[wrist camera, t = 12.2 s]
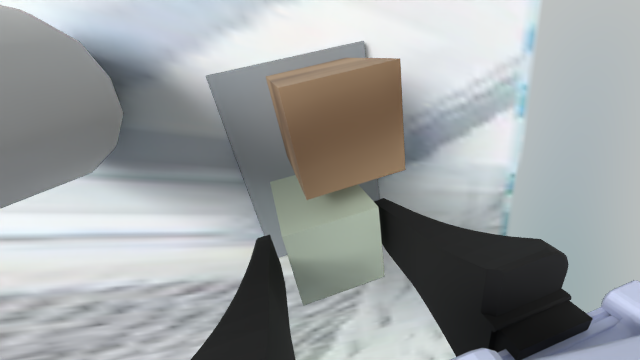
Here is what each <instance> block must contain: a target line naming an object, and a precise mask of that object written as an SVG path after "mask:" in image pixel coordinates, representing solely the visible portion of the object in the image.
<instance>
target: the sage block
mask: <svg viewBox="0 0 640 360" xmlns="http://www.w3.org/2000/svg"><path fill="white" fill-rule="evenodd" d="M270 184H271V189H272V193H273V198H274V202H275V207H276V212H277V216H278V221H279V225H280V230H281V235H282V239H283V242H284V245H285V248H286V251H287V255H288V258H289V261H290V264H291V267H292V271H293V274H294V277H295V280H296V283H297V287H298V290H299V293H300V296H301V300H302V303H303V306H304V305H306V304H309V303H312V302H315V301H318V300H321V299H323V298H326V297H329V296H332V295H335V294H337V293H340V292H343V291H346V290H349V289H351V288H354V287H357V286H360V285H363V284H366V283H368V282H371V281H374V280H377V279H380V278H382V277H385V275H384V264H383V252H382V241H381V230H380V219H379V207H378V206H377V205H376V204H375V203H374V201H373V200H372V199H371V198H370V197H369V196H368V195H367V194H366V193H365V191H364V190H363V189H362V188H361V187H360V186H359V185H354V186H351V187H348V188H345V189H341V190H338V191H335V192H332V193H328V194H325V195H322V196H319V197H315V198H312V199H309V200H306V197H305V195H304V193H303V191H302V188H301V186H300V184H299V182H298V179H297V177H296V175H294V176H290V177H286V178H283V179H279V180H276V181H272V182H270Z"/></svg>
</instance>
